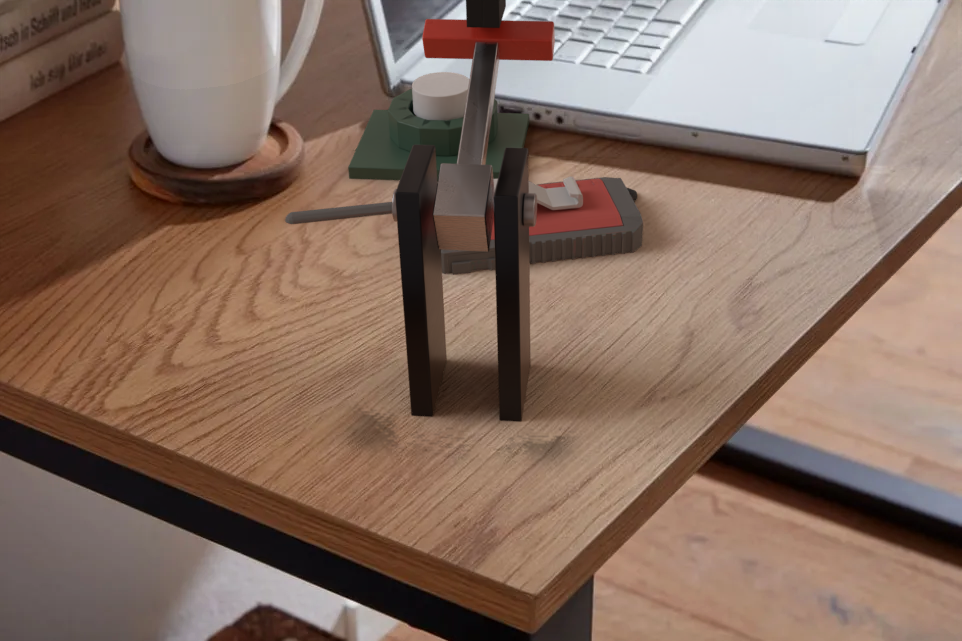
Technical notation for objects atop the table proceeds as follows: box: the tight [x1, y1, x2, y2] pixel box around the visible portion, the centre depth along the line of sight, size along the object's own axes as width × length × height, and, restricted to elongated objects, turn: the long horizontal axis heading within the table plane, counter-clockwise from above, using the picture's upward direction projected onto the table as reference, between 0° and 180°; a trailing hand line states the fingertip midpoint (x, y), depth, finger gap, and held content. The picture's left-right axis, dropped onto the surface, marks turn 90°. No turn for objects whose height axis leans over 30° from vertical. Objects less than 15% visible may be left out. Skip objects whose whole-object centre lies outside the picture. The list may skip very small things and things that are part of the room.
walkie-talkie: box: [284, 176, 644, 276], centre depth 73 cm, size 9×4×20 cm
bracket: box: [391, 145, 537, 423], centre depth 59 cm, size 8×8×13 cm
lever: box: [421, 18, 556, 251], centre depth 59 cm, size 12×6×2 cm, turn 173°
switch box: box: [347, 88, 530, 182], centre depth 82 cm, size 10×8×4 cm
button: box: [411, 71, 470, 120], centre depth 81 cm, size 4×4×2 cm
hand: (486, 16), depth 61 cm, fingers closed
